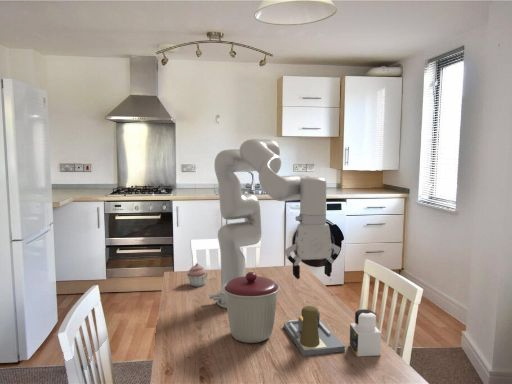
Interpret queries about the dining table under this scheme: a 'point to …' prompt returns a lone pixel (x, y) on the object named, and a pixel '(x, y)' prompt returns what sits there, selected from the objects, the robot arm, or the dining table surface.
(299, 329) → the block
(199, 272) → the cupcake
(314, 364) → the dining table surface
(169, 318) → the dining table surface
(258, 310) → the canister
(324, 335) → the panel
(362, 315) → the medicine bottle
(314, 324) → the cork
